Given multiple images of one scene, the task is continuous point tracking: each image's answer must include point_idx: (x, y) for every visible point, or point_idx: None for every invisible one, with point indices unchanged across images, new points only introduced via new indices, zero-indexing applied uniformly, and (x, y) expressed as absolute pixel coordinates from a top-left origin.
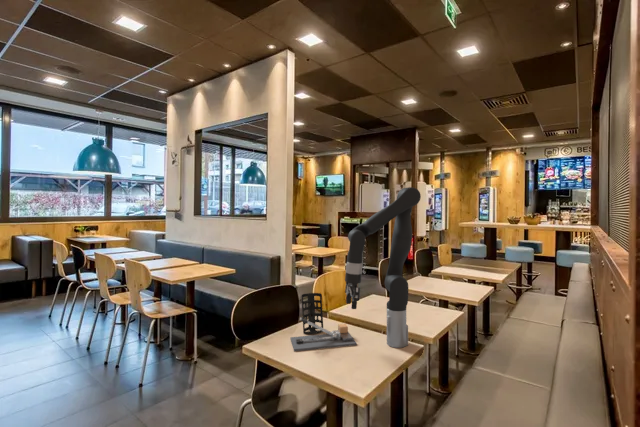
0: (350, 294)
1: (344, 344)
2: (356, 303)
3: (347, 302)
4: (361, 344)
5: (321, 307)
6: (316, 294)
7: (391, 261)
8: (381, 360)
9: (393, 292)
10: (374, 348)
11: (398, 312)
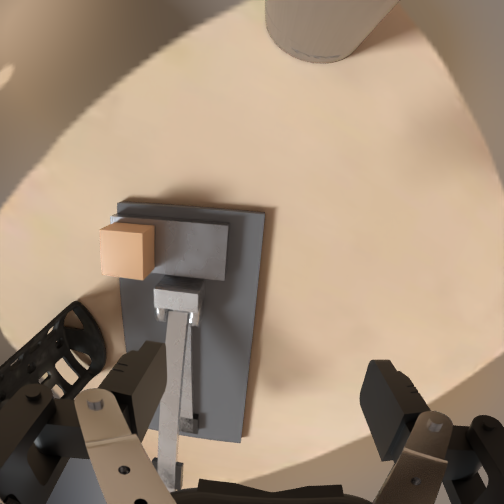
0: None
1: (258, 277)
2: (425, 403)
3: (162, 382)
4: (264, 184)
5: (11, 362)
6: None
7: None
8: (440, 178)
9: None
10: (330, 143)
11: None
